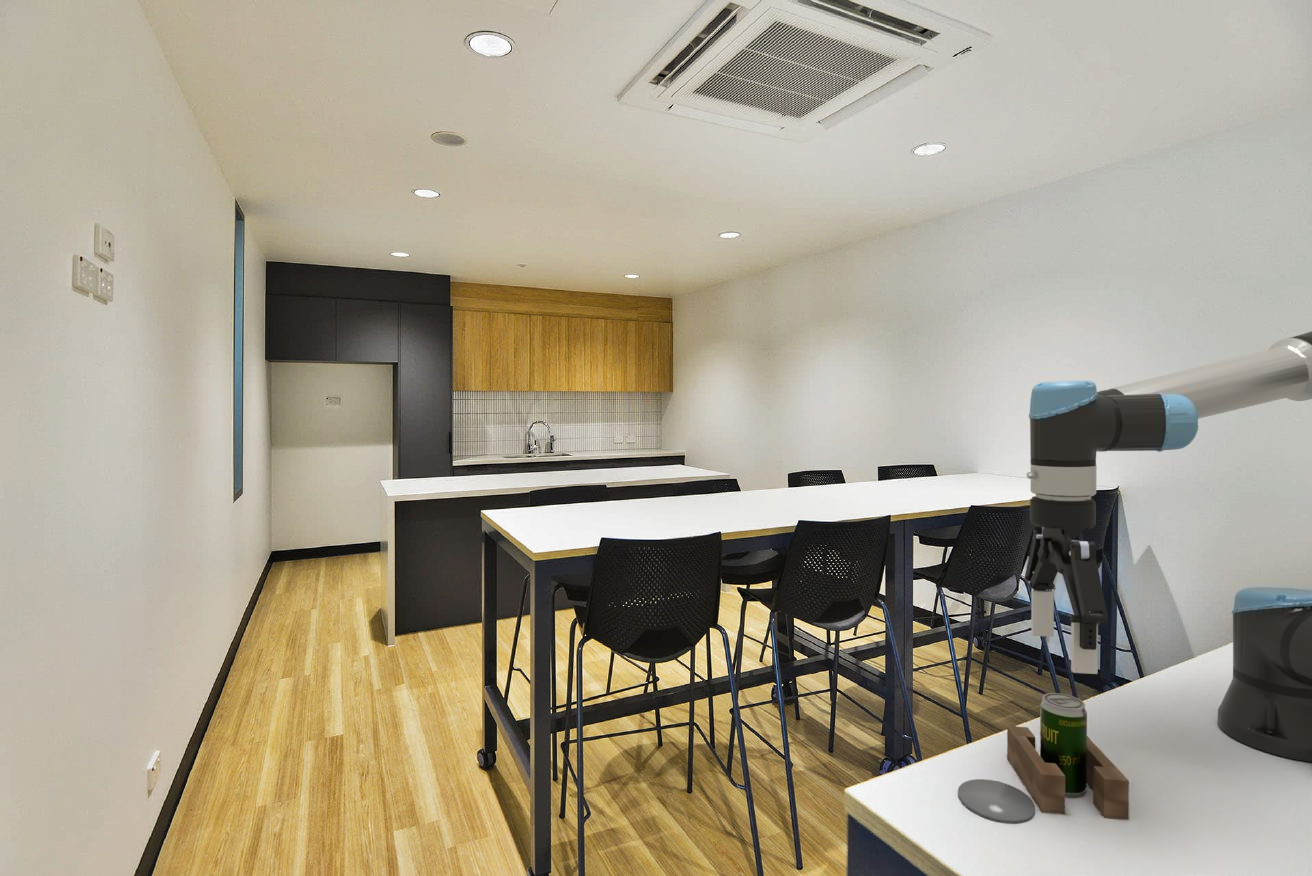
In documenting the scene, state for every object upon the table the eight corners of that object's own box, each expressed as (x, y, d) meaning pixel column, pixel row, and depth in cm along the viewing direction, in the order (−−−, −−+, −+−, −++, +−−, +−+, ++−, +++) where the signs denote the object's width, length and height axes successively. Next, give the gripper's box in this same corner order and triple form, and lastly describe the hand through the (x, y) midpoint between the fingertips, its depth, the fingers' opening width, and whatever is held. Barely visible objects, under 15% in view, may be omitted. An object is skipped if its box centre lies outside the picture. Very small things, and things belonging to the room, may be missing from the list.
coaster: (1020, 785, 90) (1020, 782, 90) (1046, 826, 82) (1046, 822, 82) (950, 780, 92) (950, 776, 92) (968, 819, 83) (968, 815, 83)
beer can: (1067, 774, 93) (1067, 691, 92) (1096, 797, 88) (1096, 708, 87) (1031, 777, 92) (1031, 693, 92) (1058, 800, 87) (1058, 711, 87)
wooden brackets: (1082, 764, 95) (1082, 730, 95) (1128, 819, 83) (1128, 780, 82) (1007, 759, 97) (1007, 725, 97) (1041, 812, 85) (1041, 774, 84)
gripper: (1001, 485, 101) (1001, 621, 102) (1071, 510, 77) (1070, 689, 78) (1055, 485, 100) (1055, 623, 101) (1143, 511, 75) (1141, 693, 76)
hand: (1061, 652), depth 89 cm, fingers open, 13 cm apart
